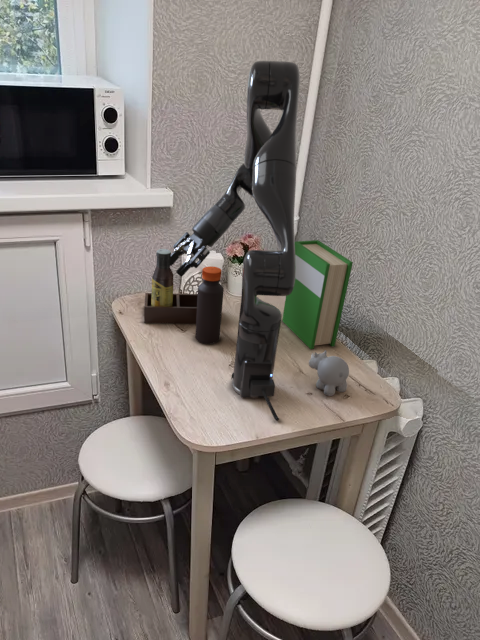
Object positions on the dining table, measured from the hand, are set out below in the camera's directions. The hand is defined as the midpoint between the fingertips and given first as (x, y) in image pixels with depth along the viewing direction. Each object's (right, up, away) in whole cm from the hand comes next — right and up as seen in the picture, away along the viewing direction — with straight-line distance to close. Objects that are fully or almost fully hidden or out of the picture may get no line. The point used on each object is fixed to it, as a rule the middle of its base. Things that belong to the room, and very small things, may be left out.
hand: (173, 269), depth 149 cm
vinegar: (+10, -20, -4) cm, 23 cm away
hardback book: (+38, -18, +1) cm, 43 cm away
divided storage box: (+1, -12, +7) cm, 14 cm away
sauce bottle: (-4, -13, +7) cm, 15 cm away
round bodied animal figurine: (+37, -33, -21) cm, 54 cm away
